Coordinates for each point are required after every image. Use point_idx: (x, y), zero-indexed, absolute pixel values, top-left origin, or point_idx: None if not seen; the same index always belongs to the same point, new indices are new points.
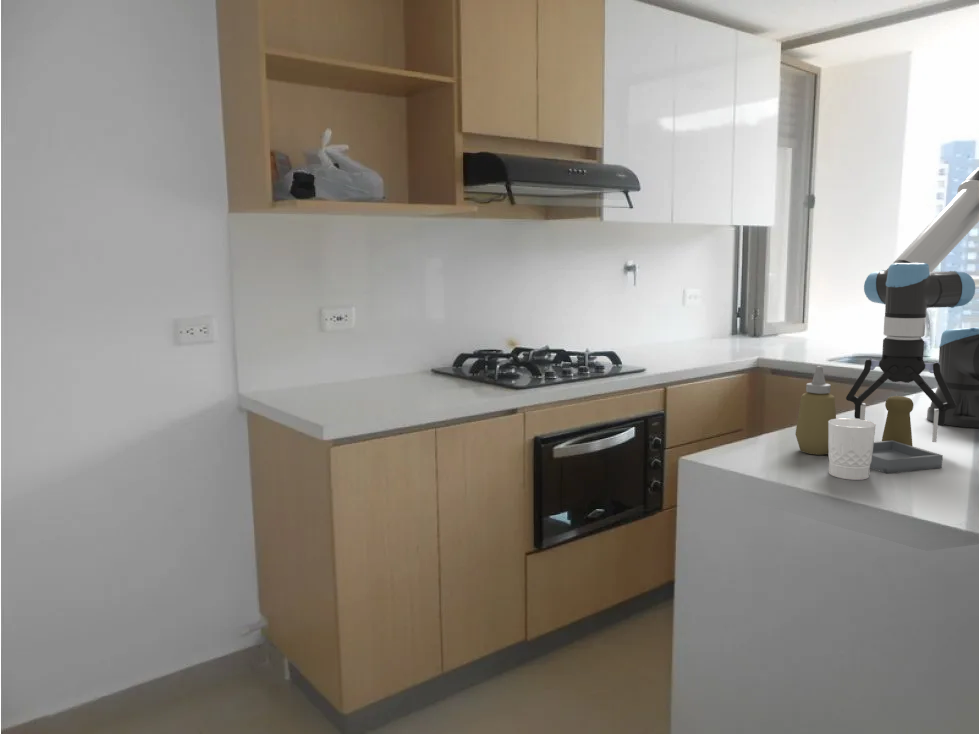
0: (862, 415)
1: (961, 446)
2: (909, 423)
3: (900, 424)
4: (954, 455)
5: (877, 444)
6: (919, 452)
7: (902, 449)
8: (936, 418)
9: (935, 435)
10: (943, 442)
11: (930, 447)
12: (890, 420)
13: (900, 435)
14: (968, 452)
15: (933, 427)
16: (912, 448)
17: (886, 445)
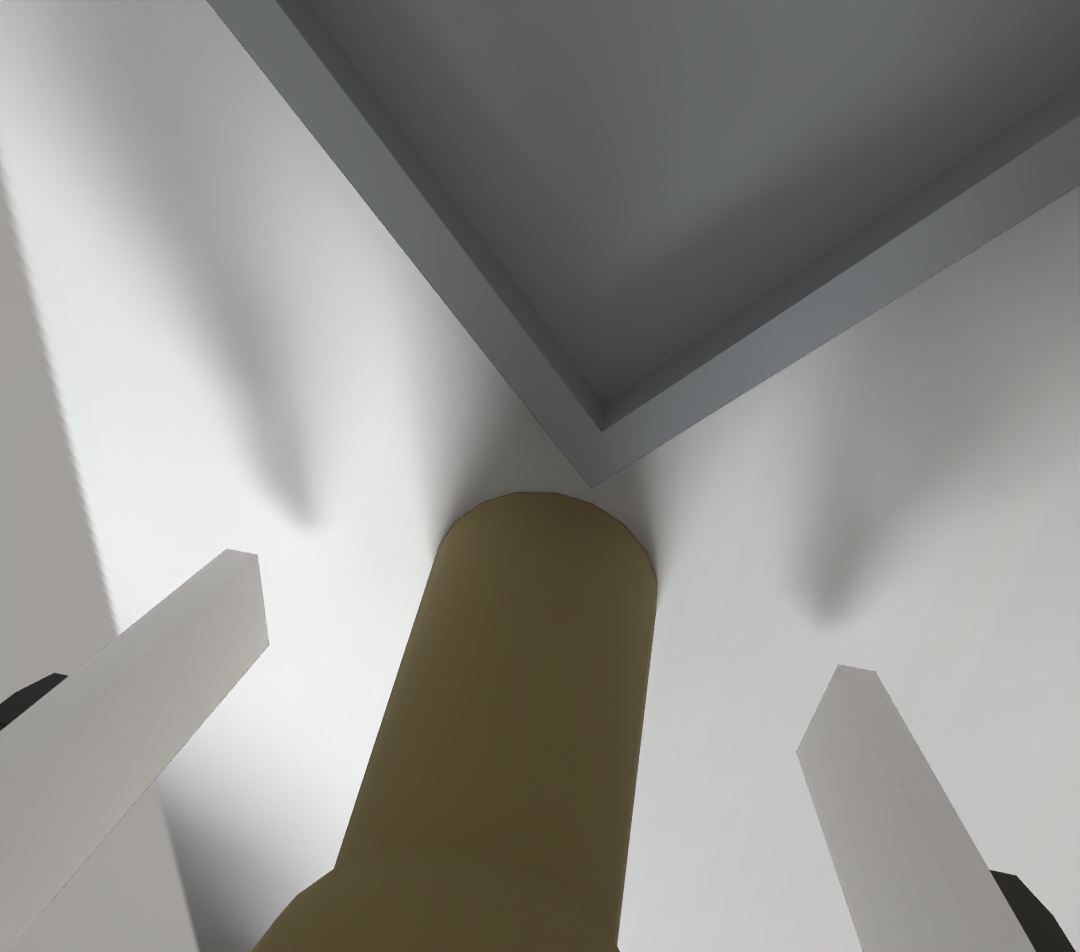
0: (975, 900)
1: None
2: (380, 734)
3: (480, 687)
4: (167, 472)
5: (783, 302)
6: (333, 64)
7: (512, 295)
8: (16, 738)
9: (193, 588)
10: (273, 765)
11: (328, 647)
12: (593, 766)
13: (502, 584)
14: (114, 576)
15: (150, 649)
16: (402, 160)
17: (662, 377)
